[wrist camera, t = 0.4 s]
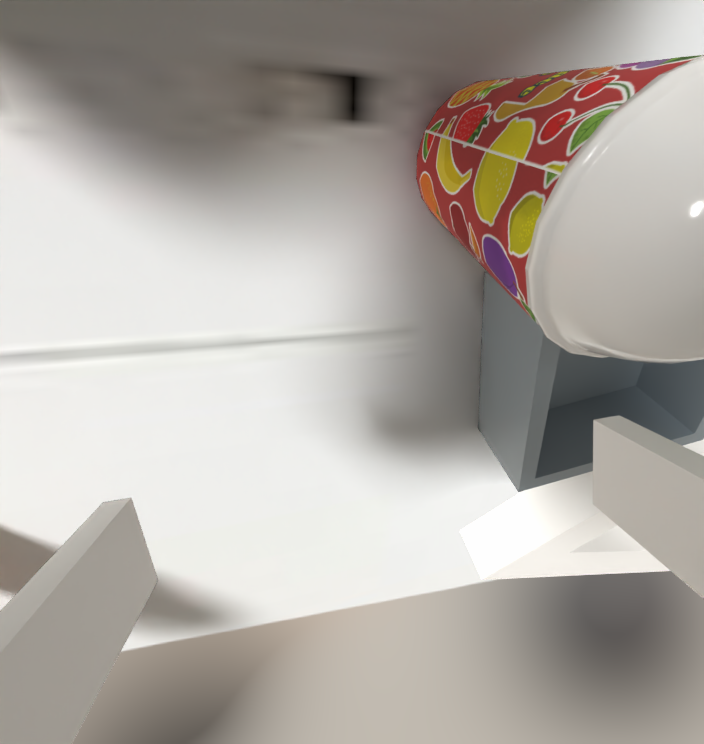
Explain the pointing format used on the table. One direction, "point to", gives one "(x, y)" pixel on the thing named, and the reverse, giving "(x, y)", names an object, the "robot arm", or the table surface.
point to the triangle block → (555, 535)
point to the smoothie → (583, 201)
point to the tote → (569, 396)
